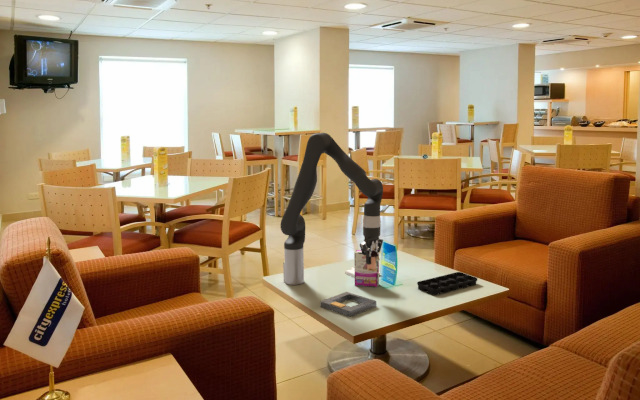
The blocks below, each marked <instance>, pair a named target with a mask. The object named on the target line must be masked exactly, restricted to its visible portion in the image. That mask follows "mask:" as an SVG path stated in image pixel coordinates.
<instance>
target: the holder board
mask: <svg viewBox="0 0 640 400" xmlns="http://www.w3.org/2000/svg"><path fill="white" fill-rule="evenodd" d="M347 301H352V302H355V303H357V304H355V305H353V306H349V305H347V304H344V302H347ZM319 303H320V304H319V305H320V306H319V307H320V308H323V309H325V310H328V311H330V312H334V313H336V314H340V315H342V316H344V317H348V318H353V317H354V316H357V315H359V314H361V313H364V312H366V311H367V312H368V311H369V310H372V309H374V308H376V307H377V300H374V299H372V298H368V297H365V296H361V295H359V294H355V293H351V292H349V291H345V292H342V293H339V294H337V295H334V296H333V295H332V296H331V297H327V298H326V299H323V300H320V301H319Z"/></svg>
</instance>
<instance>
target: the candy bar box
mask: <svg viewBox="0 0 640 400" xmlns="http://www.w3.org/2000/svg"><path fill="white" fill-rule="evenodd" d="M378 255H379V256H380V252H378ZM354 267H355V278H354V286H356V287H369V288H370V287H371V288H372V287H373V288H377V287H379V285H380V276H379V272H380V260H377V258H376V269H377V271H372V270H373V269H372V270H371V271H367V269H368V268H367V264H366V256H365V258H364V257H363V254H362V251H361V249H356V250H355V252H354Z"/></svg>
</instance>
